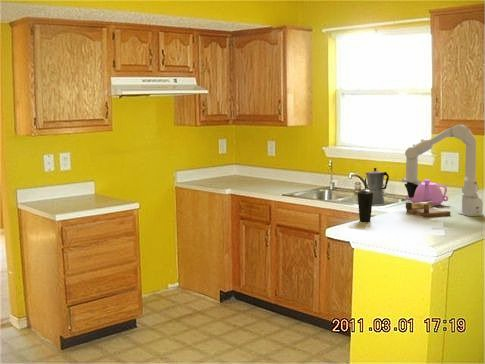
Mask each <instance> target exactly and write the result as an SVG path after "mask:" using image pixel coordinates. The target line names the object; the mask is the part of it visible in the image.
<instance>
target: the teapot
mask: <svg viewBox="0 0 485 364" xmlns="http://www.w3.org/2000/svg"><path fill="white" fill-rule="evenodd" d="M440 187H442V188H444V192H442V189H441V188H440ZM447 190H448V188H447V186H446V185H444V184H442V183H441V184H438V183H436V182H431V179H423V182H421V185H418V187H417V189H416V191H415V194H414V197H413V198H409V197H408V194H406V196H405V199H406V200H407V201H411V202H410V203H421V202H427V201H433V207H436V206H441V204H442V203H443V202H448V201H449V197H448V196H447ZM445 198H446V199H445Z"/></svg>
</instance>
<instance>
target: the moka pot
mask: <svg viewBox="0 0 485 364" xmlns="http://www.w3.org/2000/svg"><path fill="white" fill-rule="evenodd" d="M365 175H366V182H367V186H368V190H371V191H372V192H374V193H373V200H372V206H375V205H376V206H377V205H384V204H385V197H384V191H383V190H386V189H387V187H388V182H389V179H390V176H389V174H388V172H387V171H380V170H377V167H373V171H368V172H366V173H365ZM384 177H386V179H385V178H384ZM384 180H385V183H384Z"/></svg>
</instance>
